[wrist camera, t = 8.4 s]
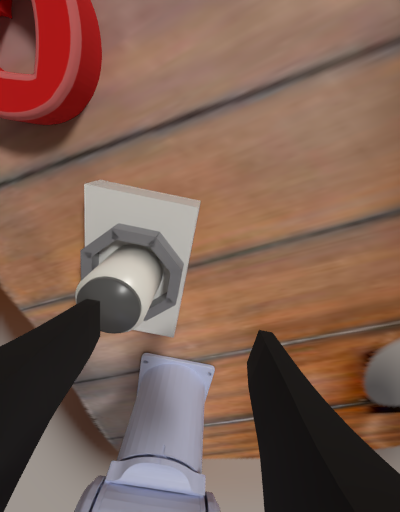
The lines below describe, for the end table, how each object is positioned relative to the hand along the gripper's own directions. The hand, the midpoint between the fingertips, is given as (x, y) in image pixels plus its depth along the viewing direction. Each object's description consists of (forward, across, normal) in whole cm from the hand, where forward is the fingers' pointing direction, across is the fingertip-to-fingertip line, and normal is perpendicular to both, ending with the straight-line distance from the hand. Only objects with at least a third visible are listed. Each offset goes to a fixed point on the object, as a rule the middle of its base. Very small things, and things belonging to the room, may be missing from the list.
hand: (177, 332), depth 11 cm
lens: (+8, +4, +2) cm, 9 cm away
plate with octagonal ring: (+10, +4, +2) cm, 11 cm away
